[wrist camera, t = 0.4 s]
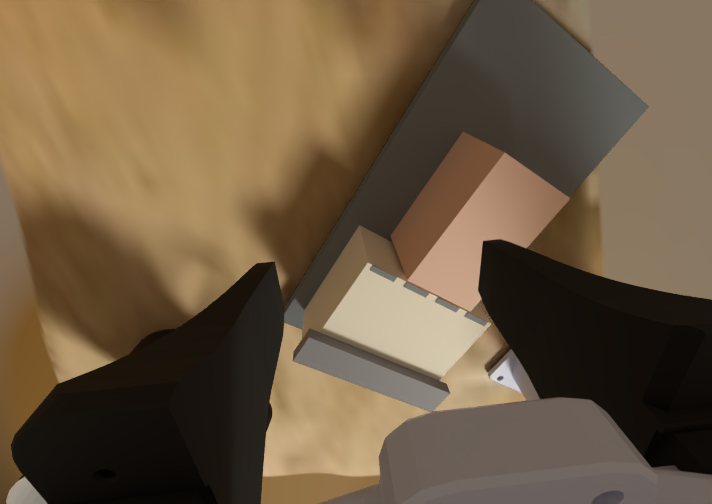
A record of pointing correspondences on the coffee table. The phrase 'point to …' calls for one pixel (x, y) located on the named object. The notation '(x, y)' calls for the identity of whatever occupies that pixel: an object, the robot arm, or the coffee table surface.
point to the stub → (471, 218)
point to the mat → (489, 120)
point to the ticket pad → (385, 326)
